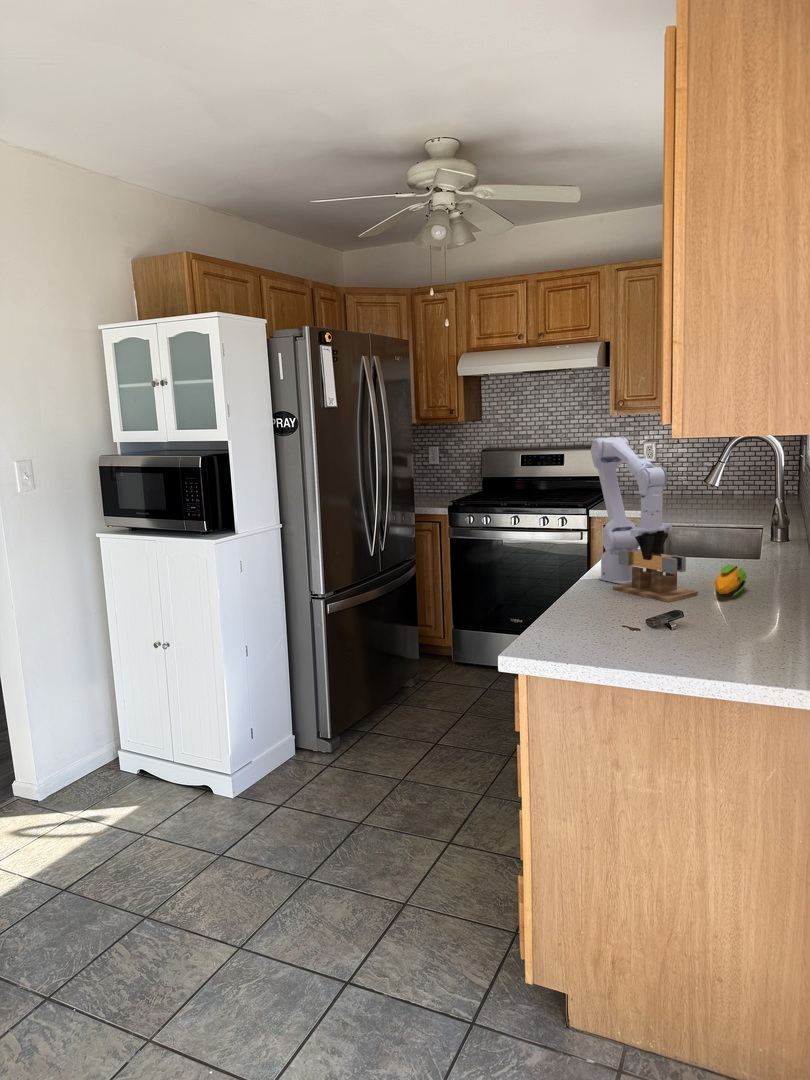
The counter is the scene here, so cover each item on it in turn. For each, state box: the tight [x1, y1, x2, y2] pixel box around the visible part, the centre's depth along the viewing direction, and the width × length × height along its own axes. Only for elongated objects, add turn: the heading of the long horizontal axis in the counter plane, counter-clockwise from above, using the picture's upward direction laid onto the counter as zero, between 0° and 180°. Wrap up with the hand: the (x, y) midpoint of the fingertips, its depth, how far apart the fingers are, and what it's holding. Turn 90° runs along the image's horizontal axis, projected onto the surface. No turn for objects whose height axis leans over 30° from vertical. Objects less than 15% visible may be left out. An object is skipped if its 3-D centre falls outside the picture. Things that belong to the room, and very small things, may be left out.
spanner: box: [618, 548, 687, 574], centre depth 214 cm, size 20×5×4 cm, turn 31°
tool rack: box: [612, 566, 699, 603], centre depth 216 cm, size 20×12×7 cm, turn 31°
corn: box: [714, 564, 748, 598], centre depth 210 cm, size 7×8×20 cm
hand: (651, 558), depth 214 cm, fingers closed on spanner, 3 cm apart
